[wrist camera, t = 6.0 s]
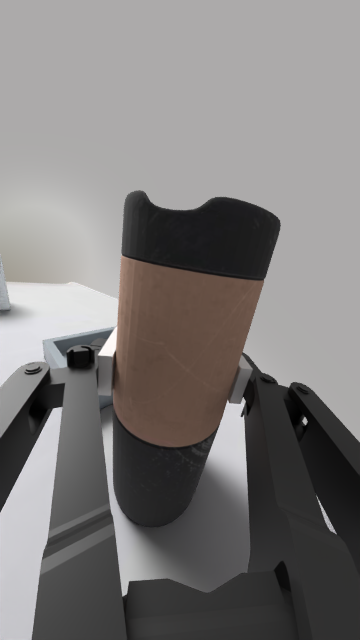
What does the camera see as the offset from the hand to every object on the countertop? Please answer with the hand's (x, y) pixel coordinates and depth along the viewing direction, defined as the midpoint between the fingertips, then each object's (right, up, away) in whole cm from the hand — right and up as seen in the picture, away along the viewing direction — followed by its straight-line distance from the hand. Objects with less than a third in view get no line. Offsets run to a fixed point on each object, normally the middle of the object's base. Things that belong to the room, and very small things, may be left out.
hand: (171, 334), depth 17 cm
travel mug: (-1, -12, -1) cm, 12 cm away
